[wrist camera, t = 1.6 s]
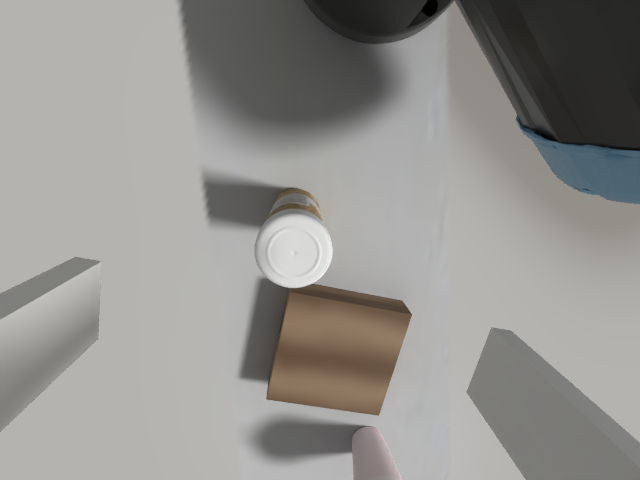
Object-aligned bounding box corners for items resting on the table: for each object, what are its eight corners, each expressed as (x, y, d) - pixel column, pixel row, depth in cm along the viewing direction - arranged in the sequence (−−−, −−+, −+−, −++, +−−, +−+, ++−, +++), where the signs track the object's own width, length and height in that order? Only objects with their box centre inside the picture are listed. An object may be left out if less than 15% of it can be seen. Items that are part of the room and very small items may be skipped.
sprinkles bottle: (320, 232, 33) (334, 288, 20) (273, 235, 32) (256, 293, 19) (318, 186, 31) (332, 212, 18) (269, 188, 31) (249, 216, 18)
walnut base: (290, 279, 34) (290, 292, 31) (402, 301, 35) (411, 314, 32) (268, 379, 37) (266, 399, 34) (372, 395, 38) (378, 415, 35)
